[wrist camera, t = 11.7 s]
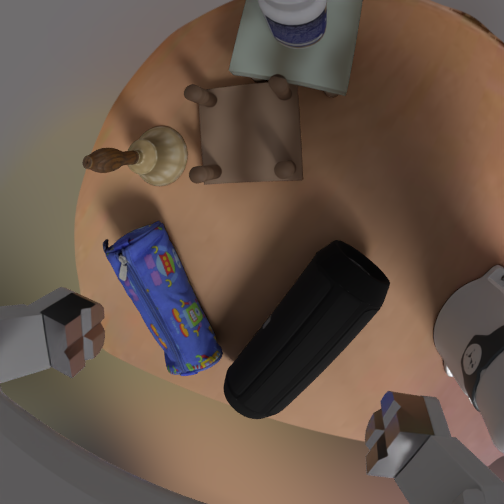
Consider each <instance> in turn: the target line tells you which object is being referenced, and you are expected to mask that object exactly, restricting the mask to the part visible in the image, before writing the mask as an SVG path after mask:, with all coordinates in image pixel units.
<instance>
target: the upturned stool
mask: <svg viewBox="0 0 504 504" xmlns="http://www.w3.org/2000/svg"><path fill="white" fill-rule="evenodd" d="M277 75H279V74H277ZM277 75H273V76H271V77H270V79H269V82H268V83H257V84H246V85H237V86H229V87H221V88H214V89H207V90H205V89H203V88H201V87H199V86H197V85H194V84H192V85H189V86H187V87H186V89H185V91H184V96H185V98H186V99H188V100H190V101H193V102H195V103H198V104H199V115H200V132H201V147H202V162H203V166H196V167H193V168H192V169H191V170H190V172H189V177H190V180H191V181H192V182H194V183H202V182H204V185H205V184H221V183H239V182H261V181H293V180H303V167H302V147H301V129H300V113H299V99H298V86H297V85H294V84H289V83H288V82H287V80H286V79H284V78H283V77H284V76H283V77H281V78H278V77H280V76H282V75H281V74H280V75H279V76H277ZM275 76H277V77H275Z"/></svg>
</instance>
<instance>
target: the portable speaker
mask: <svg viewBox="0 0 504 504" xmlns="http://www.w3.org/2000/svg"><path fill="white" fill-rule="evenodd" d="M389 285H390V282H389V280H388V278H387V277H386V275H385V274H384V273H383V272H382V271H381V270H380V269H379V268H378V267H377V266H376V265H375V264H374V263H373V262H372V261H371V260H369V259H368V258H367V257H366V256H364V255H363V254H362V253H360V252H359V251H358V250H356V249H355V248H353V247H351V246H350V245H348V244H346V243H344V242H342V241H339V240H335V241H333V242H332V243H330V244H329V245H327V246H326V247H324V248H323V249H321V250H320V251H318V252H317V253H316V255H315V257H314V258H313V259H312V261H311V262H310V263H309V265H308V266H307V268H306V269H305V270H304V272H303V273H302V274H301V276H300V277H299V278H298V280H297V281H296V282H295V284H294V285H293V286H292V288H291V289H290V290H289V292H288V293H287V294H286V296H285V297H284V298H283V300H282V301H281V302H280V304H279V305H278V306H277V308H276V309H275V310H274V312H273V313H272V314H271V316H270V317H269V318H268V319H267V321H266V322H265V323H264V325H263V326H262V327H261V328H260V330H259V331H258V332H257V334H256V335H255V336H254V337H253V339H252V340H251V341H250V342H249V344H248V345H247V346H246V348H245V349H244V350H243V351H242V353H241V354H240V355H239V356H238V358H237V359H236V360H235V361H234V363H233V364H232V365H231V366H230V367H229V368H228V370H227V373H226V378H225V382H224V394H225V397H226V399H227V401H228V402H229V404H230V405H231V406H232V407H233V408H234V409H235V410H236V411H237V412H238V413H240V414H242V415H243V416H246V417H248V418H252V419H261V418H265V417H269V416H272V415H275V414H277V413H279V412H280V411H282V410H283V409H284V408H285V407H287V406H288V405H289V404H290V403H291V402H292V401H293V400H294V399H295V398H296V397H297V396H298V395H299V394H300V393H301V392H302V391H304V390H305V389H306V388H307V387H308V386H309V385H310V384H311V383H312V382H313V381H314V380H315V379H316V378H317V377H318V376H319V375H320V374H321V373H322V372H323V371H324V370H325V369H326V368H327V367H328V366H329V365H330V364H331V363H332V361H333V360H334V359H335V358H336V357H337V356H338V355H339V354H340V353H341V352H342V351H343V350H344V349H345V348H346V347H347V346H348V345H349V343H350V342H351V341H352V340H353V339H354V338H355V337H356V336H357V335H358V334H359V332H360V331H361V330H362V329H363V328H364V327H365V326H366V325H367V323H368V322H369V321H370V320H371V319H372V318H373V316H374V315H375V314H376V313H377V312H378V311H379V309H380V307H381V306H382V304H383V302H384V299H385V297H386V294H387V291H388V288H389Z"/></svg>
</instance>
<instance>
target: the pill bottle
mask: <svg viewBox="0 0 504 504" xmlns="http://www.w3.org/2000/svg"><path fill="white" fill-rule="evenodd" d="M258 3H259V7H260V9H261V11H262V13H263V15H264V18H265V20H266V22H267V24H268V27H269V29H270V32H271V33H272V35H273V37H274V38H275V39H276V40H277V41H278V42H279V43H280V44H282V45H284V46H286V47H289V48H293V49H304V48H308V47H311V46H313V45H315V44H317V43H318V42H319V41H320V40H321V39H322V38H323V36H324V34H325V32H326V26H327V0H258Z"/></svg>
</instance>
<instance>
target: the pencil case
mask: <svg viewBox="0 0 504 504" xmlns="http://www.w3.org/2000/svg"><path fill="white" fill-rule="evenodd" d="M103 249H104V252H105V253H106V257H107V259H108V260H109V262H110V263H111V265H112V267H113V269H114V271H115V273H116V275H117V277H118V279H119V281H120V282H121V283H122V285H123V287H124V289H125V291H126V293H127V294H128V296H129V297H130V298H131V299H132V301H133V303H134V305H135V306H136V308H137V309H138V310H139V312H140V314H141V316H142V318H143V320H144V322H145V323H146V325H147V327H148V329H149V330H150V332H151V333H152V335H153V337H154V338H155V340H156V341H157V342H158V344H159V345H160V346H161V347H162V348H163V350H164V354H165V362H166V367H167V369H168V371H169V372H170V373H171V374H174V375H178V374H180V375H181V376H188V375H194V374H197V373H198V372H200V371H203V370H206V369H208V368H210V367H212V366H213V365H215V364H216V363H217V362H219V360H220V359H221V357H222V354H223V352H222V349H221V347H220V346H219V345H218V343H217V341H216V337H215V334H214V332H213V330H212V328H211V326H210V324H209V322H208V320H207V318H206V316H205V314H204V312H203V311H202V309H201V307H200V305H199V303H198V301H197V298H196V296H195V294H194V292H193V289H192V287H191V285H190V283H189V280H188V278H187V276H186V274H185V271H184V269H183V266H182V264H181V261H180V259H179V257H178V255H177V253H176V251H175V249H174V247H173V245H172V243H171V241H170V240H169V237H168V234H167V232H166V230H165V228H164V224H163V223H161V222H160V221H157V222H155V223H153V224H151V225H146V226H144V227H141V228H138V229H136V230H133V231H131V232H129V233H127V234H126V235H124V236H123V237H121V238H120V239H119V240H117V241H116V242H115V243H114V245H112V246H110V247H109V248H108V239H106V240H105V241H104V242H103Z"/></svg>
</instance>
